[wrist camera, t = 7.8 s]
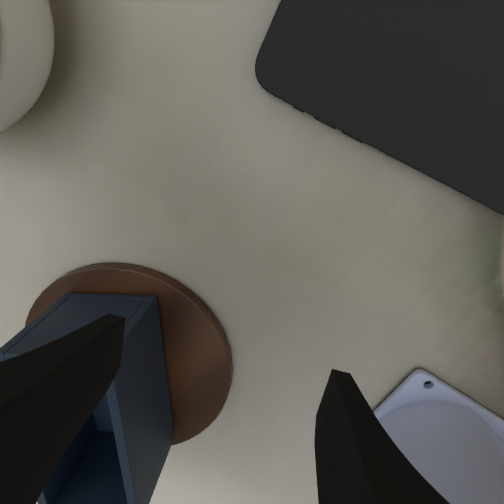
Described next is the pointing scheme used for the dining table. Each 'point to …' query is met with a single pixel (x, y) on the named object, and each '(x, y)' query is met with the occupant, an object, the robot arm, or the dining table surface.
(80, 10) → the dining table surface
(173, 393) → the disc
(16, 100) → the trinket box
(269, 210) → the dining table surface
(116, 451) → the bin
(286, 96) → the phone
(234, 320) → the dining table surface
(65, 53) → the dining table surface
